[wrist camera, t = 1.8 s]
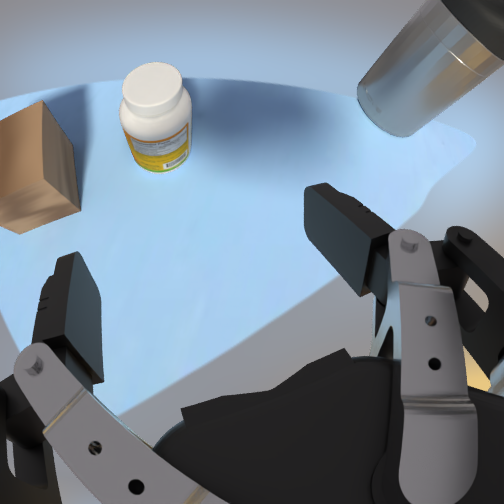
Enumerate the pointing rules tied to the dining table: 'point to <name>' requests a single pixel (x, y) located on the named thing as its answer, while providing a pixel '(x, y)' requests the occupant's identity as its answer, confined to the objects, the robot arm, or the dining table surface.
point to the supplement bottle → (156, 117)
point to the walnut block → (35, 170)
